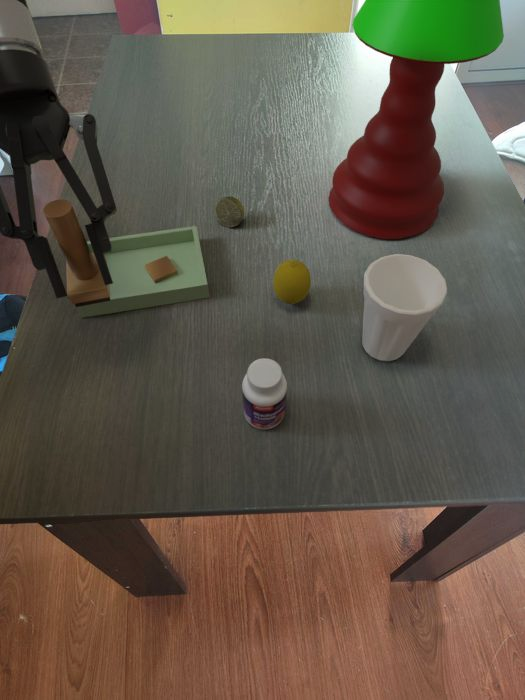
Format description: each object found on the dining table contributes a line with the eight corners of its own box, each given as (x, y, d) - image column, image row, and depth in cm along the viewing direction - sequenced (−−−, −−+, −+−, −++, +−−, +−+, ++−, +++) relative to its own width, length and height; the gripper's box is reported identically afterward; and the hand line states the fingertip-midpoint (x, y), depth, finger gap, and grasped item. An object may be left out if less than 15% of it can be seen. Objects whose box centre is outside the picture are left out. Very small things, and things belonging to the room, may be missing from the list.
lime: (246, 229, 81) (245, 205, 77) (218, 232, 81) (216, 208, 77) (242, 212, 84) (241, 189, 80) (216, 215, 83) (213, 191, 79)
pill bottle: (253, 437, 59) (251, 399, 51) (237, 402, 62) (233, 362, 54) (292, 421, 60) (296, 382, 52) (274, 388, 63) (276, 346, 55)
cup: (342, 319, 70) (356, 255, 59) (408, 315, 70) (434, 250, 59) (355, 376, 64) (373, 316, 53) (426, 371, 64) (459, 311, 54)
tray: (80, 318, 70) (74, 305, 68) (82, 256, 78) (76, 242, 75) (209, 297, 72) (207, 284, 70) (198, 239, 80) (196, 225, 77)
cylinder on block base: (74, 309, 54) (33, 232, 44) (72, 270, 57) (35, 192, 48) (112, 301, 54) (80, 224, 45) (108, 264, 58) (78, 185, 49)
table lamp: (406, 164, 92) (501, -177, 55) (458, 228, 81) (619, -143, 44) (312, 182, 89) (346, -167, 52) (353, 251, 78) (433, -128, 41)
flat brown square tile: (155, 283, 73) (154, 280, 73) (145, 268, 75) (144, 264, 75) (178, 273, 74) (177, 270, 74) (167, 259, 76) (166, 255, 76)
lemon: (290, 281, 74) (293, 243, 68) (316, 301, 72) (321, 263, 65) (265, 299, 72) (265, 262, 65) (290, 320, 70) (293, 283, 63)
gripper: (97, 65, 52) (161, 270, 57) (-72, 95, 48) (12, 311, 53) (90, 30, 45) (165, 268, 49) (-109, 62, 41) (-8, 315, 46)
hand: (85, 290), depth 51 cm, fingers closed on cylinder on block base, 4 cm apart
